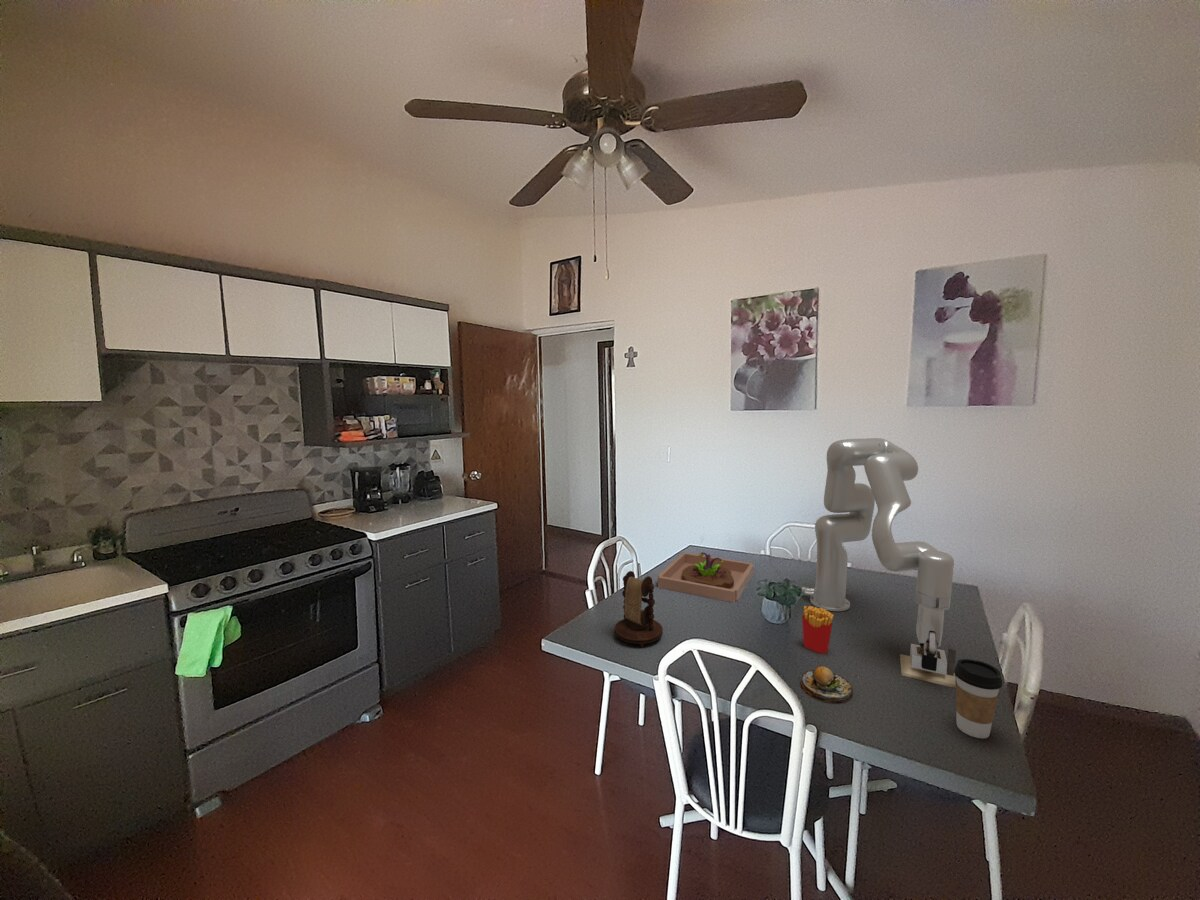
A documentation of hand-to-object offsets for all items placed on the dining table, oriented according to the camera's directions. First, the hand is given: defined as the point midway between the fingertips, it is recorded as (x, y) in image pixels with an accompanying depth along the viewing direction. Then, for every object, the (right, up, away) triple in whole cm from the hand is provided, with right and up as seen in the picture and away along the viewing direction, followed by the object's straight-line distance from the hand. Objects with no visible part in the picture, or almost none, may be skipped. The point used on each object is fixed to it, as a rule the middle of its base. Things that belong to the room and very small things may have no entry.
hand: (927, 661), depth 131 cm
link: (0, -1, 0) cm, 1 cm away
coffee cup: (-4, -6, -21) cm, 22 cm away
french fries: (-24, -2, +12) cm, 27 cm away
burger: (-30, -5, -6) cm, 31 cm away
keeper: (0, -3, 0) cm, 3 cm away
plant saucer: (-45, +5, +63) cm, 77 cm away
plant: (-45, +5, +63) cm, 77 cm away
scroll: (-75, -1, +21) cm, 78 cm away
